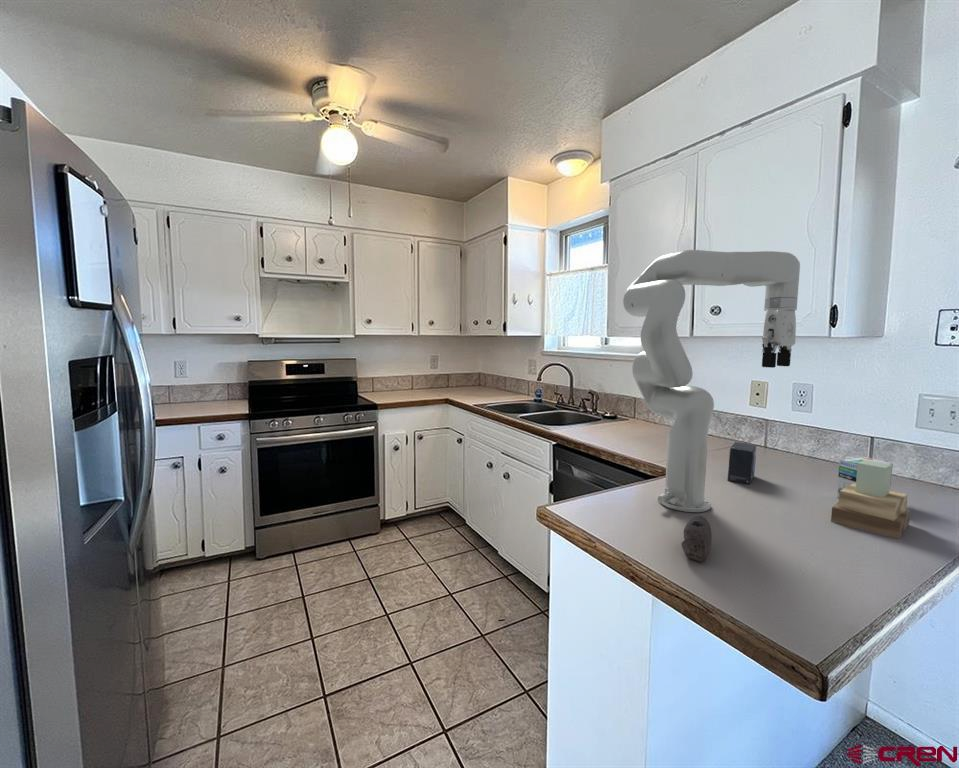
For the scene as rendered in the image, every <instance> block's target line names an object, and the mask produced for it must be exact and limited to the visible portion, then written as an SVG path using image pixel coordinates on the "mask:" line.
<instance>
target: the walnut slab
mask: <svg viewBox="0 0 959 768" xmlns="http://www.w3.org/2000/svg"><path fill="white" fill-rule="evenodd" d="M838 505H839V501H837V503H836V504H834V505H833V506H831V516H830V517H831V518H830V523H831V522H832V523H836V524H839V525H843V526H845V527H846V526H847V527H851V528H855V529H858V530H861V531H866V532H870V533H874V534H878V535H882V536H886V537H889V538H892V539H896V540H900V538H901V536H902V535H903V533H904V532H905V531H906V529H907V528H908V526H909V522H910V512H911V510H910V509H906V511H905V512H904V513H903V514H901V515H900V516H899V517H898V518H897V519H895V520H894V521H892V520H888V519H884V518H880V517H877V516H873V515H869V514H865V513H861V512H857V511H853V510H849V509H845V508H841V507H838Z"/></svg>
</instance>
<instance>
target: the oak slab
mask: <svg viewBox="0 0 959 768" xmlns="http://www.w3.org/2000/svg"><path fill="white" fill-rule="evenodd" d="M855 489H856V483H853V484H851V485H849V486H847V487H846V488H844V489H842V490H840V493H839V497H838V502H839V505H838V507H841V508H845V509H849V510H853V511H857V512H861V513H865V514H869V515H873V516H877V517H880V518H884V519H888V520H892V521H894V520H895V519H897V518H898V517H899V516H900V515H901V514H903V513H904V512H905V511H906V510H907V503H908V494H907V493H903V492H898V491H893V490H891V489H890V490H889V494H888V495H886V496H885V497H883V498H882V497H877V496H873V495H868V494H864V493H859V492H855Z"/></svg>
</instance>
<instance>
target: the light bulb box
mask: <svg viewBox="0 0 959 768" xmlns="http://www.w3.org/2000/svg"><path fill="white" fill-rule="evenodd" d="M863 460H869V461H875V462H881V463H886V464H892V470H891V478H892V476H893V467H894V463H892V462H888V461H885V460H879V459H876V458H873V457H868V456H864V457H855V458H854V457H852V458H847V459H846V458H845V459H839V464H838V475H837V488H836V498H839V493H840V490H842V489H844V488H846V487H847V486H849V485H851V484H853V483H856V477H857V466H858V463H859V462H861V461H863ZM891 485H892V479H891V480H890V488H891Z"/></svg>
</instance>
